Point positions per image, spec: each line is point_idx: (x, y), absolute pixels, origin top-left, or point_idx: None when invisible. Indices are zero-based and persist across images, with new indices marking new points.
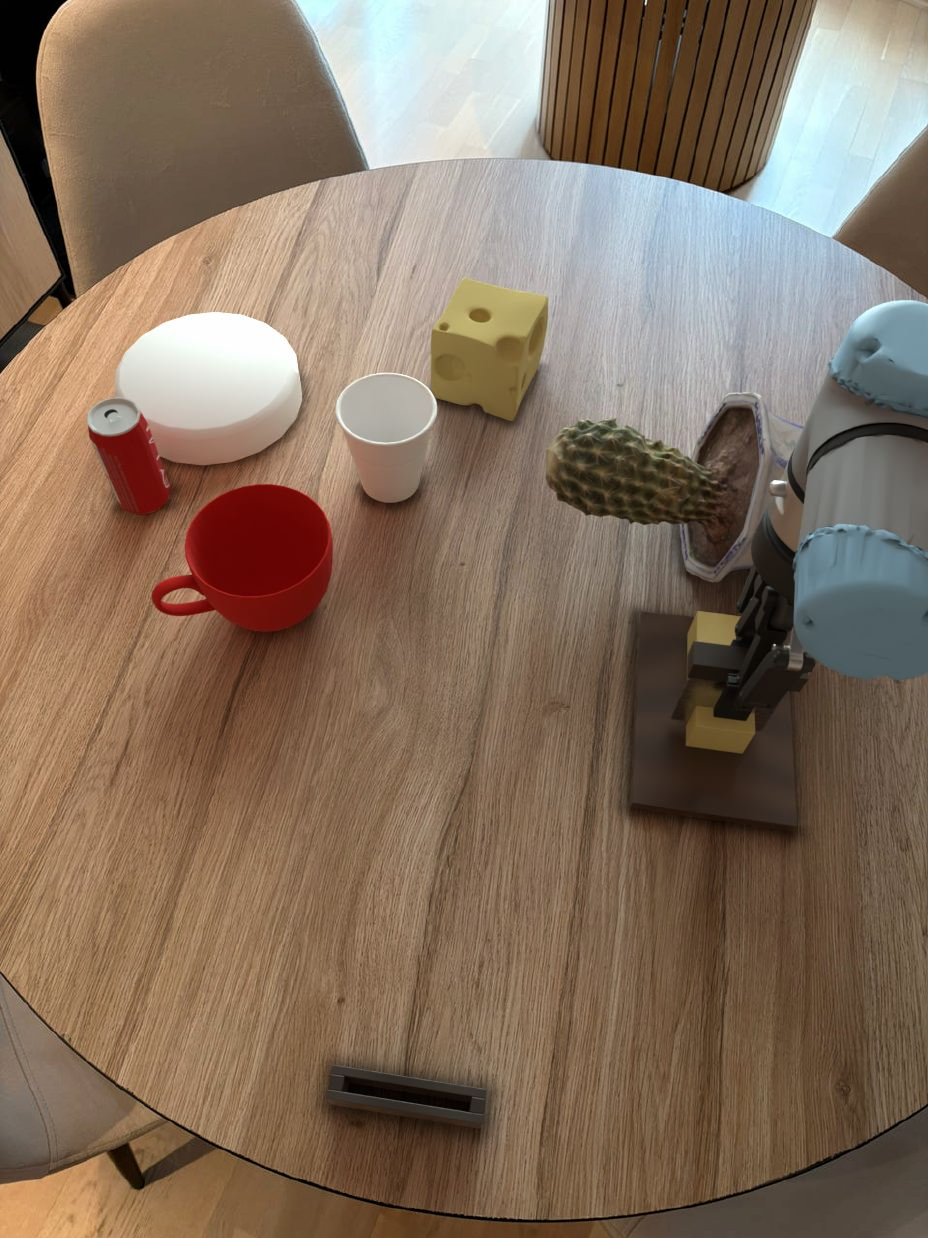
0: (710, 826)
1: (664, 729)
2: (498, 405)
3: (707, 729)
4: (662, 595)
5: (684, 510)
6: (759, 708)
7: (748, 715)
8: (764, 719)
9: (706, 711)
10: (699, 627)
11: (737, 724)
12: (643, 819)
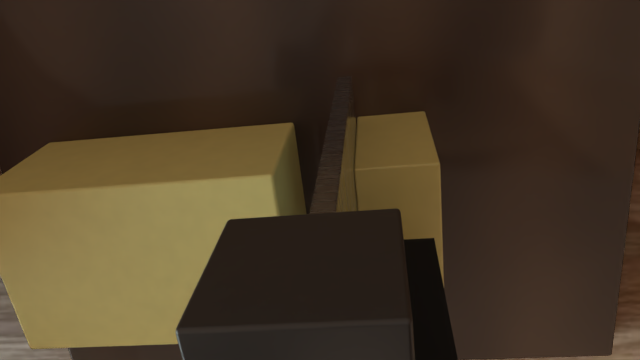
0: (636, 156)
1: None
2: None
3: None
4: (5, 308)
5: None
6: (351, 178)
7: (438, 266)
8: (350, 113)
9: None
10: (86, 342)
11: (414, 221)
12: (625, 303)
